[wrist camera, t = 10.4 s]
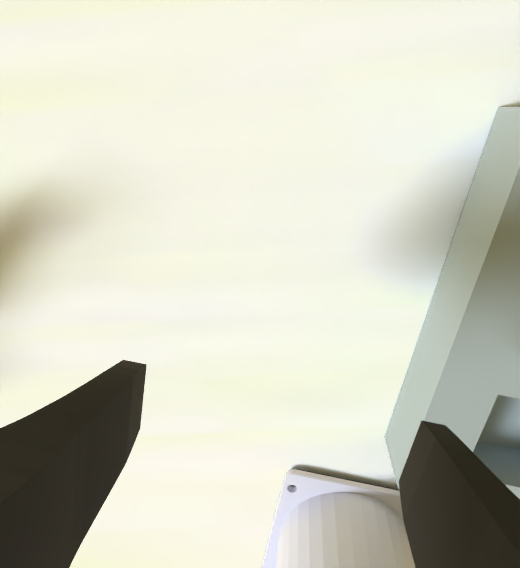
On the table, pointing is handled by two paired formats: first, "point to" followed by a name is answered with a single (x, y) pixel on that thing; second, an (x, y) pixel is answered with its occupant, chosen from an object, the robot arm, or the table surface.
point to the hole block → (474, 323)
